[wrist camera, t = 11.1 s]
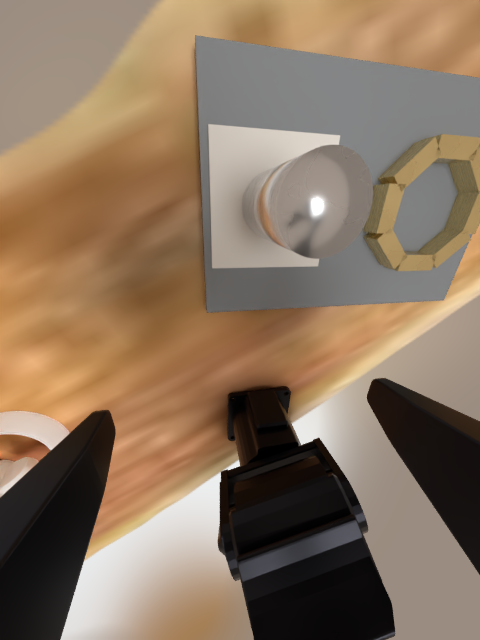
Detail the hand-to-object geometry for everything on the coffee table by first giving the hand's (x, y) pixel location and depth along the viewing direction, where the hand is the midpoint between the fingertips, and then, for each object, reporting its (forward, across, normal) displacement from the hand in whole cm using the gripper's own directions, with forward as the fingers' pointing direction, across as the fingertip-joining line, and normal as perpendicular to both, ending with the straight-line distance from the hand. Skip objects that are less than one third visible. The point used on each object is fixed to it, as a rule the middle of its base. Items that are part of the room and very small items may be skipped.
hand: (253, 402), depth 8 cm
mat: (+11, -4, -6) cm, 13 cm away
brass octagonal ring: (+11, -15, -6) cm, 20 cm away
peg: (+11, -4, -6) cm, 13 cm away
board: (+12, -10, -6) cm, 17 cm away
